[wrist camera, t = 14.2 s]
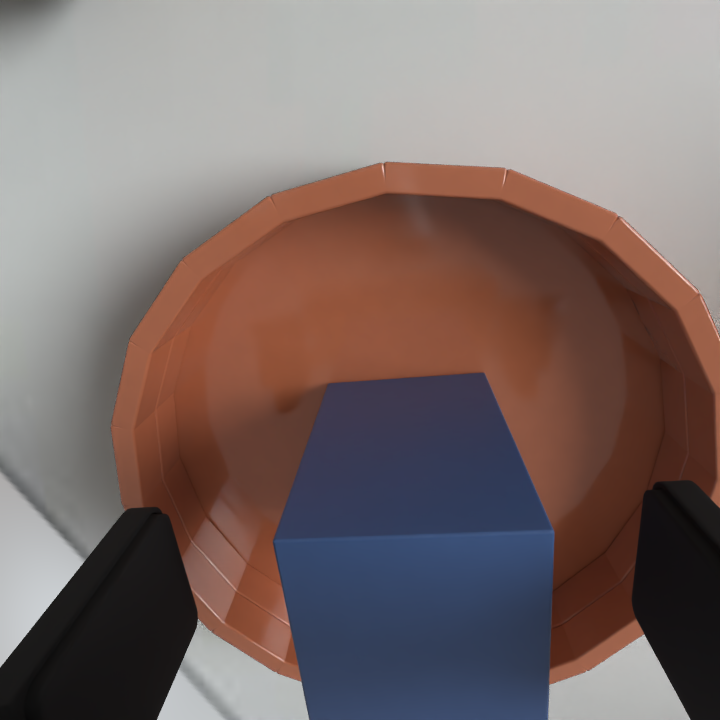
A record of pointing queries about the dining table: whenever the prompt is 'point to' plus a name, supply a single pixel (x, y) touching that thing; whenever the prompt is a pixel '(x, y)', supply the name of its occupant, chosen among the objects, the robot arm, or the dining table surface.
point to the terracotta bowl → (419, 359)
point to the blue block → (417, 557)
